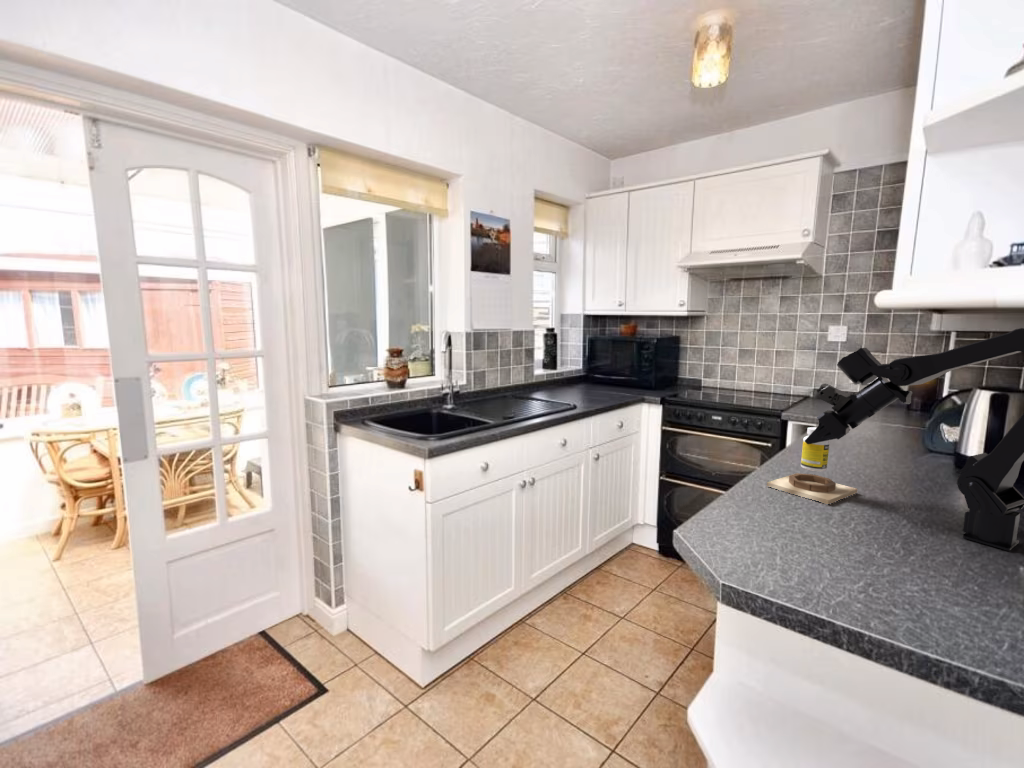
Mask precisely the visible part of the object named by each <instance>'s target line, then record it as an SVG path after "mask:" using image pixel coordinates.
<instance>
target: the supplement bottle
mask: <svg viewBox="0 0 1024 768" xmlns="http://www.w3.org/2000/svg"><path fill="white" fill-rule="evenodd" d="M817 427H818V426H811V427H810V426H809V427H807V430H806V434H807V435H806V436H804V437H803V439H802V450H801V459H800V467H801V468H803V470H808V471H813V472H826V471H827V469H828V463H829V462H828V461H829V453H830V440H827V441H822V442H818V443H813V444H807V443H806V442H805V440H806V439H807V438H808V437H809V436H810V434H811V433H812V432H813V431H814V430H815V429H816V428H817Z"/></svg>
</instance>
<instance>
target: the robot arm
mask: <svg viewBox="0 0 1024 768" xmlns="http://www.w3.org/2000/svg"><path fill="white" fill-rule="evenodd" d="M1020 353H1024V327H1020V328H1016V329H1013V330H1011V331H1009V332H1007V333H1002V334H999V335H997V336H992V337H990V338H987V339H982V340H979V341H976V342H973V343H970V344H969V343H968V344H966V345H963V346H959V347H955V348H953V349H952V348H951V349H949V350H946V351H942V352H938V353H933V354H925V355H915V356H909V357H902V358H901V357H900V358H897V359H894V360H892V361H891V362H889V363H881V362H880V361H879V360H878V359H877V357H875V356H874V355H873V354H872V352H871V351H870V350H869V348H867V347H859V348H858V349H857V350H855V351H853V352H851V353H850V354H848V355H846V356H843V357H842V358H841V359H840V360H838V362H837V365H836V366H837V367H838V368H839V370H840V371H842V373H843V374H844V375H845V376H846V377H847V378H848V379H849V380H850V381H851V382H852V384H854V385H861V386H864V387H863V388H862V389H860V390H859V391H856V392H854V393H851V394H849V393H846V392H844V391H842V390H841V389H838V388H837V387H835V386H832V385H830V384H827V383H822V384H821V385H820V386H819V388H818V389H817V390H816V392H815V394H814V395H813V397H814V398H816V399H818V400H822V401H823V402H824V403H827V404H829V405H832V407H831V409H832V410H829V409H828V410H825V411H823V412H822V413H820V414H819V415H818V416H816V418H817V420H818V426H816V427H817V428H816V429H815V430H814V431H813V432H812V433H811V434H810V436H809V437H808V438H807V439H806V440H805V442H806V443H807V444H813V443H818V442H822V441H827V440H829V441H831V440H840V439H841V438H843V437H844V436H846V435H847V434H849V433H850V431H851V429H852V430H854V429H856V428H857V427H858V426H860V425H861V424H862V423H863V422H864V421H866V420H868V419H869V418H871V417H873V416H874V415H875V414H877V413H879V412H880V411H882V410H883V409H885V408H886V407H888V406H889V405H891V404H893V403H895V402H896V401H897V400H899V401H900V402H901V403H902V404H906V405H910V404H911V403H912V395H913V391H911V390H905V389H904V388H902V387H907V386H917V385H922V384H923V385H924V384H926V383H927V382H931V381H933V380H935V379H937V378H940V377H941V376H943V375H944V374H946V373H949V372H951V371H954V370H958V369H962V368H965V367H969V366H973V365H977V364H981V363H984V362H987V361H991V360H996V359H1000V358H1003V357H1008V356H1011V355H1015V354H1020ZM850 428H851V429H850ZM1023 462H1024V412H1023V413H1022V415H1021V416H1020V417H1019V418H1018V419H1017V420H1016V421H1015V422H1014V424H1013V426H1012V427H1011V428H1010V429H1009V430H1008V431H1007V432H1006V434H1005V435H1004V436H1003V438H1002V439H1001V440H1000V441H999V442H998V443H997V444H996V445H995V447H994V448H993V449H992V451H990V452H989V453H987V452H983V453H978V454H974V455H970V456H969V457H968V458H967V460H966V461H965V463H964V466H963V467H962V468H961V469H959V470H957V471H956V474H957V475H958V474H959V475H958V477H957V478H956V485H957V488H958V490H959V492H960V493H961V494H962V495H964V499H965V503H966V506H967V508H968V510H966V511H965V512H964V517H963V524H962V525H963V526H962V532H963V534H962V538H963V539H965V540H969V541H973V542H976V543H979V544H982V545H987V546H990V547H994V548H998V549H1001V550H1005V551H1011V550H1013V548H1015V547H1016V546H1017V545H1018V544H1019V543H1020V540H1019V539H1017V538H1018V537H1017V536H1018V532H1019V525H1020V517H1021V512H1020V511H1021V510H1022V509H1023V508H1024V495H1023V494H1022V493H1021V492H1020V491H1019V490H1018V489H1017V488H1016V487H1015V486H1014V484H1015V483H1016V481H1017V479H1018V477H1019V473H1020V471H1021V466H1022V464H1023ZM1018 511H1019V512H1018Z"/></svg>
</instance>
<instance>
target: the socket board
mask: <svg viewBox="0 0 1024 768" xmlns="http://www.w3.org/2000/svg"><path fill="white" fill-rule="evenodd" d="M767 486H769V487H772V488H775V489H778V490H782V491H785V492H788V493H791V494H795V495H798V496H801V497H800V498H802V497H805V498H809V499H812V500H816V501H819V502H822V503H825V504H830V503H833V502H835V501H838V500H840V499H843V498H845V497H847V496H850V495H852V496H854V495H853V494H855V493H857V494H858V488H855V487H852V486H847V485H844V484H839V483H837V482H835V481H833V480H832V479H831V478H829V477H825V476H822V475H817V474H812V473H798V472H796V473H793V474H790V475H787V476H783V477H780V478H777V479H774V480H771V481H767V482H766V487H767ZM775 489H774V490H775ZM778 490H777V491H778ZM785 492H784V493H785ZM788 493H787V494H788ZM791 494H790V495H791ZM795 495H794V496H795ZM855 495H856V494H855ZM798 496H797V497H798ZM850 497H851V496H850ZM805 498H804V499H805ZM847 498H848V497H847ZM845 499H846V498H845ZM812 500H811V501H812ZM843 500H844V499H843ZM840 501H841V500H840ZM838 502H839V501H838ZM822 503H821V504H822ZM835 503H836V502H835ZM825 504H824V505H825ZM833 504H834V503H833ZM830 505H831V504H830Z"/></svg>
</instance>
